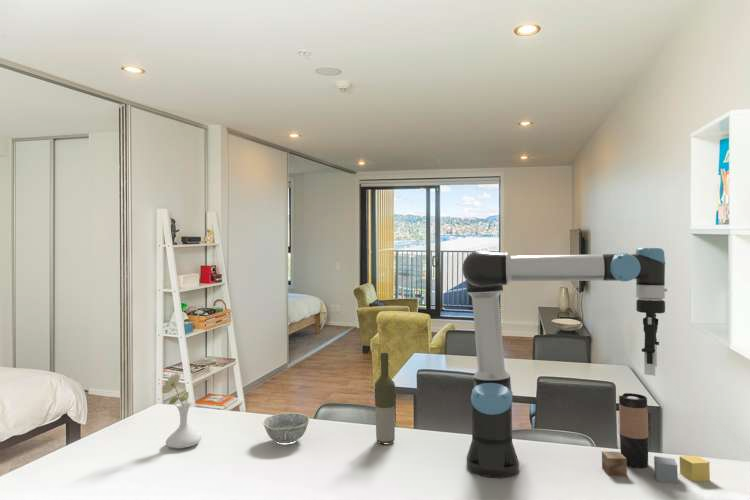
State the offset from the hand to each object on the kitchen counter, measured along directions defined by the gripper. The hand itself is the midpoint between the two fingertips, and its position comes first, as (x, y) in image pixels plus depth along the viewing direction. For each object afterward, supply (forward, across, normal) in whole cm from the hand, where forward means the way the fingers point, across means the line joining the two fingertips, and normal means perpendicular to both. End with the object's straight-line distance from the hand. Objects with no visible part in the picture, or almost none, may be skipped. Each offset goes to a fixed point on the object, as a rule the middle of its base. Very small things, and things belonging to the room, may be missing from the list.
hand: (650, 370), depth 147 cm
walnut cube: (+28, -11, +9) cm, 32 cm away
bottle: (+30, -23, +78) cm, 87 cm away
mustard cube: (+28, -3, -11) cm, 30 cm away
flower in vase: (+31, -60, +136) cm, 152 cm away
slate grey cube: (+28, -8, -4) cm, 30 cm away
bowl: (+30, -40, +108) cm, 119 cm away
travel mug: (+28, -1, +4) cm, 29 cm away
